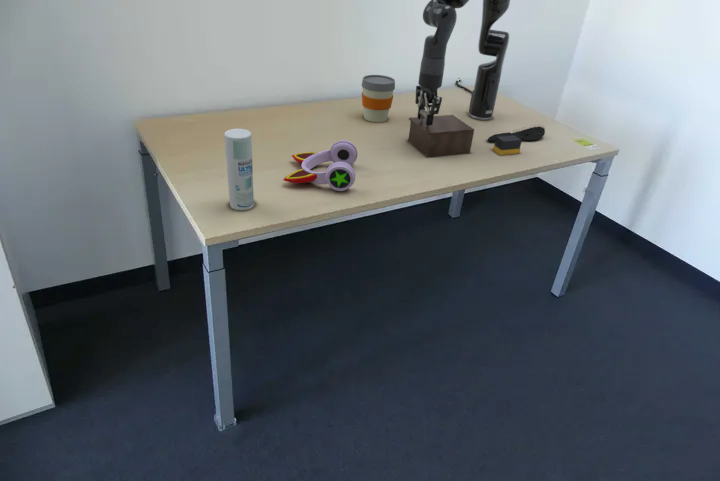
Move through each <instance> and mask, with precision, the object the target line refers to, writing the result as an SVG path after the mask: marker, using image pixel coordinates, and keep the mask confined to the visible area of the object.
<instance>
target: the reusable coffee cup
mask: <svg viewBox="0 0 720 481" xmlns="http://www.w3.org/2000/svg"><path fill="white" fill-rule="evenodd" d="M361 87H362V92H361V104H362V107H363V119H364V120H366V121H368V122H371V123H384V122H386V121H388V116H389V112H390V109H391V108H392V104H393V99H394V90H395V89H396V80H395V79H394V78H393V77H391V76H387V75H382V74H368V75H364V76H363V77H362V82H361Z"/></svg>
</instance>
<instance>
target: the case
mask: <svg viewBox="0 0 720 481" xmlns="http://www.w3.org/2000/svg"><path fill="white" fill-rule="evenodd" d="M474 133H475V130H474V131H471V132H459V133H447V134H436V135H427V134H426V133H425V132H424V131H422V130H421V129H420V128H419V127H417V126H416V125H415V124H414V123H412V122H411V121H410V123H409V131H408V139H407V141H408V142H409V143H410V144H411V145H412V146H414V147H415V148H416V149H417V150H418V151H419V152H421V153H422V154H423V155H424V156H425V157H426V158H432V157H434V158H435V157H441V156H442V157H443V156H454V155H463V154H470V153H471V149H472V143H473V138H474Z"/></svg>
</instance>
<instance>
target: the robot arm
mask: <svg viewBox="0 0 720 481" xmlns="http://www.w3.org/2000/svg"><path fill="white" fill-rule="evenodd" d="M469 1H470V0H429V2H427V4H426V5H425V7H424V8H423V11H422V20H423V22H424V24H426V25H427V26H429V27H432V28H436V29H435V32H434V34H430V35H427V36H426V37H425V38H424V43H423V51H422V57H421V61H420V67H419V75H418V82H417V84H418V85H416V86H415V101H414V102H415V105H417V108H418V109H417V118H418V119H420V118H421V114H420V113H419V111H420V110H421V109H424V110H426V111H427V118H426V125H427V126H429V125H432V124H433V118H434V116H435V115H439V114H440V108H441V105H442V100H443V97H442V96H439V95H438V90H439V89H440V88H441V87H442V85H443V80H444V79H443V78H444V72H445V66H446V65H445V64H446V54H447V47H448V43H449V41H450V38H451V36H452V33H453V31H454V29H455V26H456V24H457V10H456V9H461V8H463V7H465V6H466V5H467V4H468V3H469ZM510 5H511V0H482V10H481V12H482V14H481V25H480V31H479V37H478V44H477V45H478V46H477V48H478V52H479V54H481V55H482V56H489V57H495V59H494V60H492V61H489V62H485V63H481V64H479V65H478V66H477V71H476V76H475V81H474V87H473V90H471V89H469V88H467V87H465V86H464V85H461V84H459V82H461V79H460V80H459V81H457V80H456V81H455V85H456V86H457V87H459V88H461V89H463V90H465V91H467V92H469V93H470V94H471V96H470V102H469V108H468V116H469V117H470V118H472V119H475V120H478V121H490V120H492V119H493V117H494V116H493V114H494V111H495V105H496V102H497V96H498V91H499V86H500V82H501V78H502V73H503V71H502V70H503V68H504V62H505V58H506V55H507V51H508V47H509V43H510V33H509V32H508V31H503V30H496V29H491V28H492V27H493V26H494V25H495V24H496V22H497V21H498V20H499V19H501V18H502V17H503V16H504V14H506V13H507V11H508V10H509V9H510V8H509V7H510ZM423 119H424V117H423Z"/></svg>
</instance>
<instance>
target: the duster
mask: <svg viewBox="0 0 720 481" xmlns="http://www.w3.org/2000/svg"><path fill="white" fill-rule="evenodd" d="M521 145H522V140H521V139H520V138H518V137H516V136H515V135H510V136H499V137H496V140H495V142H494V145H493V148H492V151H493V152H494V153H496V154H498V155H499V156H505V155H506V156H508V155H517V154H520V152H521Z"/></svg>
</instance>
